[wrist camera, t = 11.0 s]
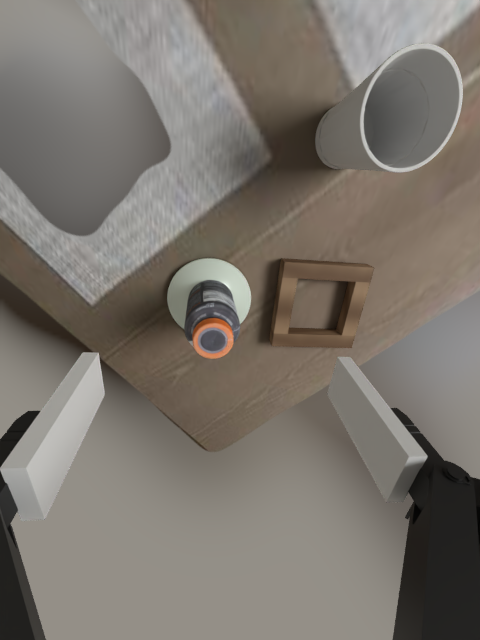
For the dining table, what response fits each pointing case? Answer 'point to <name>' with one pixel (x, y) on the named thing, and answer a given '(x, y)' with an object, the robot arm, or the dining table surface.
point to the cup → (395, 114)
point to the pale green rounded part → (201, 272)
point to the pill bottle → (211, 319)
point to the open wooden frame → (350, 309)
